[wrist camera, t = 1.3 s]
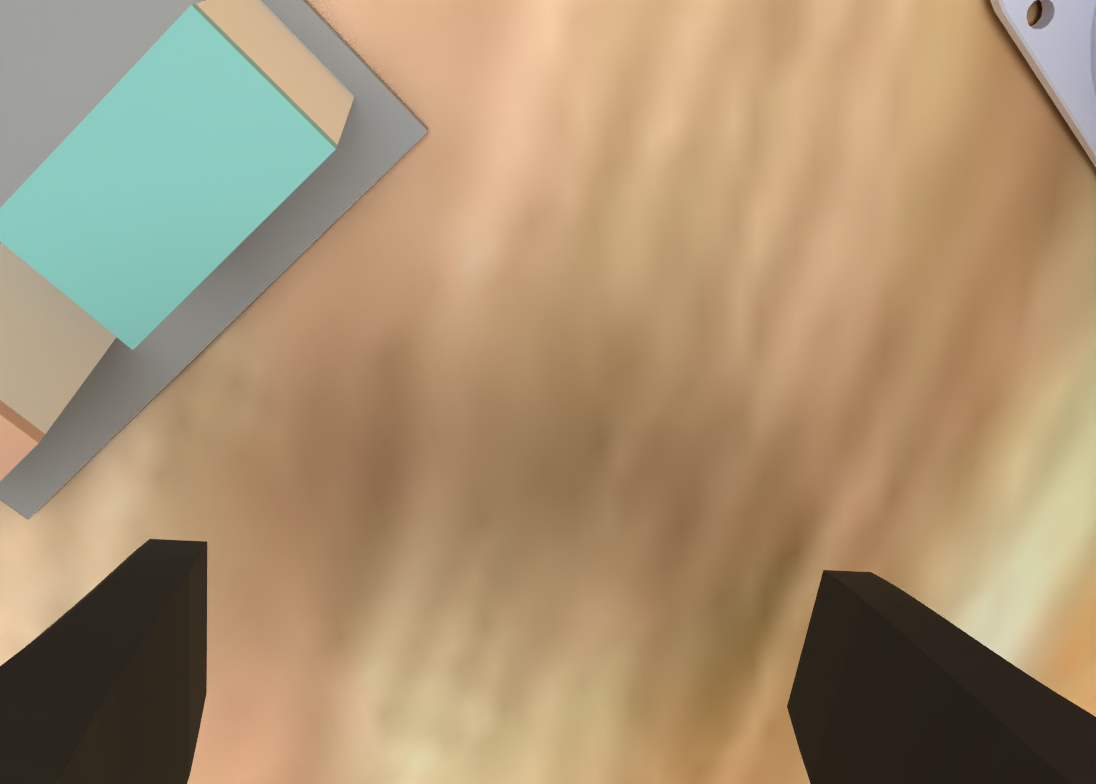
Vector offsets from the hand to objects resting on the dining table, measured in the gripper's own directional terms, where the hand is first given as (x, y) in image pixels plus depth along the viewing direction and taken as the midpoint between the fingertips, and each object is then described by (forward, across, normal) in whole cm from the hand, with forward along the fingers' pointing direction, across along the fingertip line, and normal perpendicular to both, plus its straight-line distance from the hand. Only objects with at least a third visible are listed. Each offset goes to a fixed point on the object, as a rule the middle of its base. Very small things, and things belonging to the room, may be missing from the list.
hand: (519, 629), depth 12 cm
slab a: (+9, +5, -4) cm, 11 cm away
